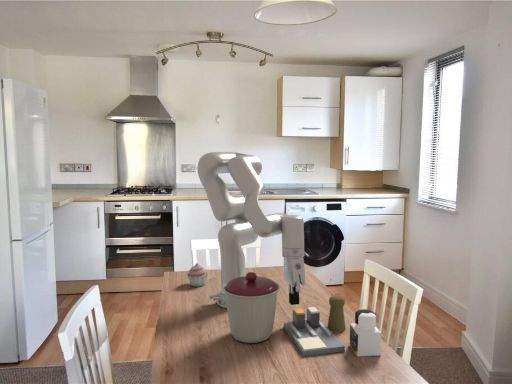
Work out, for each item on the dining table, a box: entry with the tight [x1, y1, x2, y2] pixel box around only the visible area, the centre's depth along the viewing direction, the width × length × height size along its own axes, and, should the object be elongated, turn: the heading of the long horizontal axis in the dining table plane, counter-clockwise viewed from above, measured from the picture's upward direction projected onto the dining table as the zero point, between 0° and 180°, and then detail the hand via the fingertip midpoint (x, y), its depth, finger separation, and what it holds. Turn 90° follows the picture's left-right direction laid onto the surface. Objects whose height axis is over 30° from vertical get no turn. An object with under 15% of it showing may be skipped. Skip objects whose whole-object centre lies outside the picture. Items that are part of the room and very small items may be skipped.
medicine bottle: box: [349, 308, 382, 358], centre depth 120 cm, size 7×7×12 cm
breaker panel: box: [283, 318, 346, 357], centre depth 129 cm, size 13×20×2 cm, turn 13°
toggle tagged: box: [292, 307, 306, 329], centre depth 133 cm, size 3×4×5 cm
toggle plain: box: [306, 306, 321, 327], centre depth 135 cm, size 3×4×5 cm
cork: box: [326, 294, 346, 333], centre depth 135 cm, size 6×6×11 cm
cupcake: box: [186, 262, 208, 288], centre depth 179 cm, size 9×9×10 cm
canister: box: [223, 271, 280, 344], centre depth 129 cm, size 18×18×21 cm
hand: (294, 303), depth 139 cm, fingers closed
